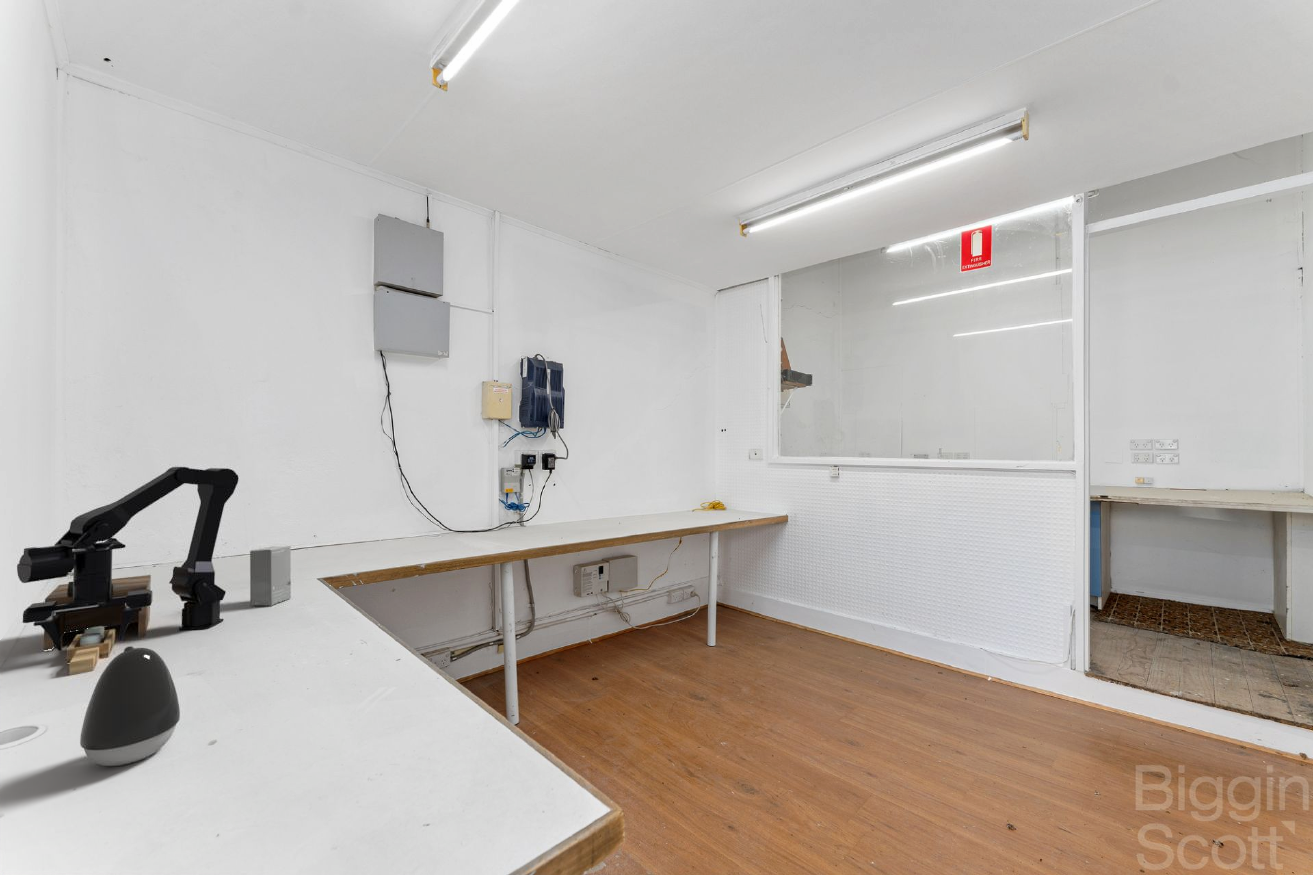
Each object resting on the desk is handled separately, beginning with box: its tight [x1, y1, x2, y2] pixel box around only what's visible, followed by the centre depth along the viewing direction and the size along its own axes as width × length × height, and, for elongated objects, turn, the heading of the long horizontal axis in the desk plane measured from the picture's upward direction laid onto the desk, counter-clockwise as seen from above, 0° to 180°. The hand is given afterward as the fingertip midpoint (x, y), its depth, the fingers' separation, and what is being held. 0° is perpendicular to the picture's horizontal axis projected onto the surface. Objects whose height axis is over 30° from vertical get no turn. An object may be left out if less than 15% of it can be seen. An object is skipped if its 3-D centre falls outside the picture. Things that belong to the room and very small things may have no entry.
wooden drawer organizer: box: [43, 574, 152, 651], centre depth 127 cm, size 16×16×12 cm
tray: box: [66, 626, 116, 676], centre depth 113 cm, size 20×6×4 cm, turn 41°
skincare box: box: [249, 545, 292, 607], centre depth 154 cm, size 8×7×16 cm
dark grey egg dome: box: [79, 645, 181, 767], centre depth 77 cm, size 10×10×15 cm
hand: (91, 645), depth 115 cm, fingers open, 9 cm apart
